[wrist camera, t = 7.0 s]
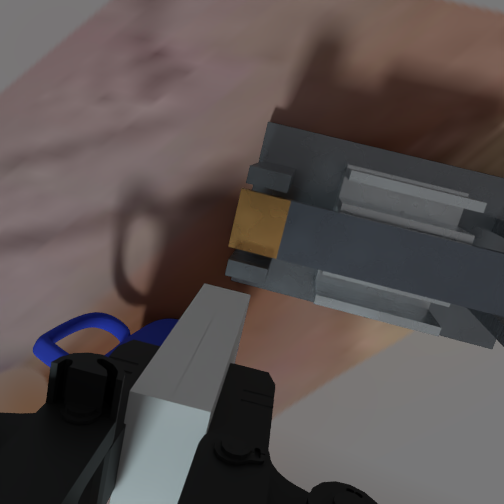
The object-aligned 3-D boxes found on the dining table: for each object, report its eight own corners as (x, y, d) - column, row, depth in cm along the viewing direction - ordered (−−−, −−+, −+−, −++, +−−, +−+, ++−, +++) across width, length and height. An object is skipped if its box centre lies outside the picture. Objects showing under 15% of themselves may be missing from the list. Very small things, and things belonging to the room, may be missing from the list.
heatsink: (233, 276, 37) (208, 317, 28) (269, 122, 34) (254, 114, 25) (487, 343, 35) (544, 408, 27) (548, 189, 32) (635, 205, 24)
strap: (230, 246, 29) (226, 251, 28) (244, 183, 28) (241, 185, 27) (526, 322, 28) (537, 331, 27) (552, 260, 27) (565, 266, 26)
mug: (120, 259, 37) (53, 299, 28) (243, 343, 38) (220, 412, 28) (73, 335, 40) (-4, 397, 30) (190, 415, 40) (152, 501, 30)
